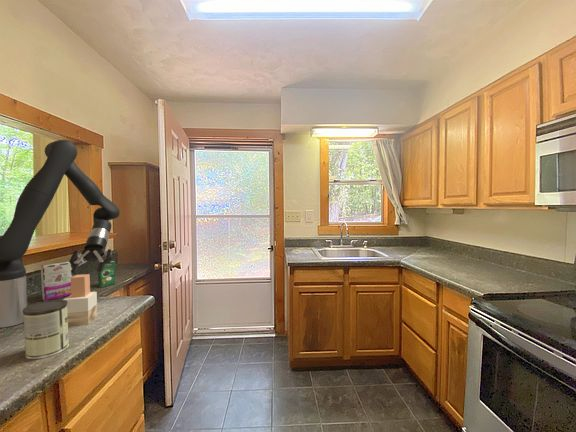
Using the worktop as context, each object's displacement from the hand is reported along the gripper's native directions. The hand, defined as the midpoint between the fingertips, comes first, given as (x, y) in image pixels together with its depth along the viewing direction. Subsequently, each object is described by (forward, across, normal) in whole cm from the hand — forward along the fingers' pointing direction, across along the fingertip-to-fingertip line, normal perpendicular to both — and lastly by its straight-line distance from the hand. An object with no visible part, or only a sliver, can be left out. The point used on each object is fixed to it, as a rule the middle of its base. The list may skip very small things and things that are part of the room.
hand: (86, 272), depth 112 cm
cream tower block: (+13, 0, +5) cm, 14 cm away
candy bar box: (-8, -24, +33) cm, 42 cm away
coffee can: (+32, 0, -8) cm, 33 cm away
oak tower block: (+16, 0, +8) cm, 18 cm away
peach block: (+9, 0, +2) cm, 9 cm away
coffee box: (-19, -9, +44) cm, 49 cm away
